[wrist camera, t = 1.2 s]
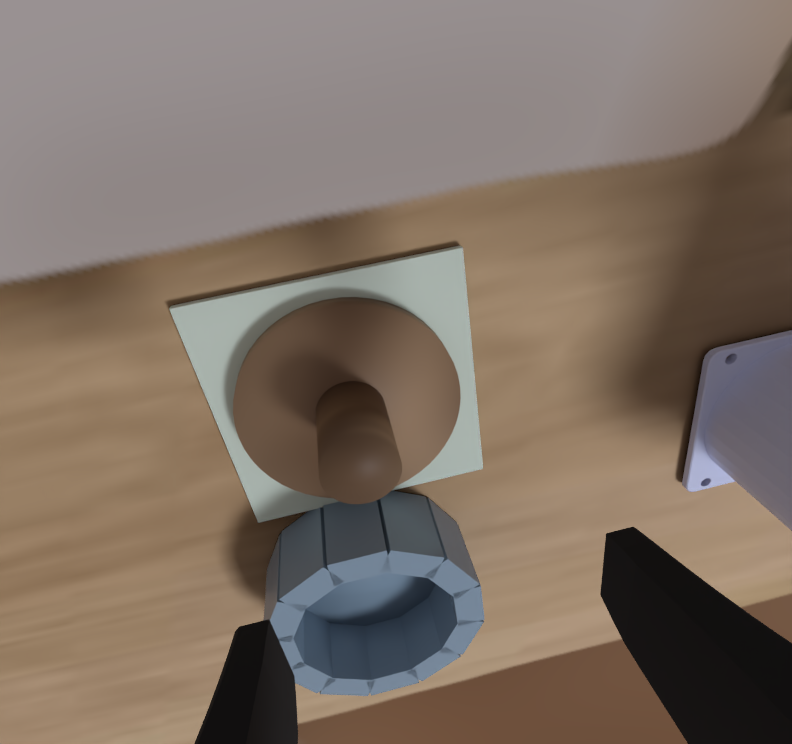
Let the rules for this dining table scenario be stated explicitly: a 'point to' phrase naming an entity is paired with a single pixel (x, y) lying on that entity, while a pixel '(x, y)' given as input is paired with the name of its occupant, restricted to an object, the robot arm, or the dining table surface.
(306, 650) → the bowl
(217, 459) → the dining table surface
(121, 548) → the dining table surface
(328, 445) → the lid
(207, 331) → the mat
